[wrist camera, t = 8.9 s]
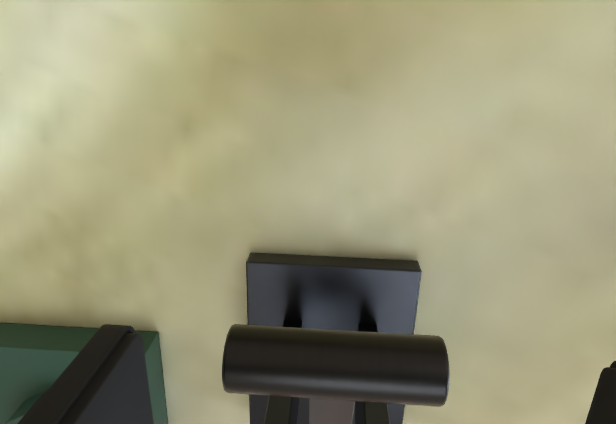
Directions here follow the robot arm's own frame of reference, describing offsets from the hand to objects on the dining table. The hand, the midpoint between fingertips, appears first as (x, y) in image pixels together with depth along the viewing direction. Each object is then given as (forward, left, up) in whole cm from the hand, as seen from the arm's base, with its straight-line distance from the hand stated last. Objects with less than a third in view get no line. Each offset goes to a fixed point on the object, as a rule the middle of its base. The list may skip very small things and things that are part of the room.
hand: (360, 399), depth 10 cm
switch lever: (+5, -1, -4) cm, 6 cm away
